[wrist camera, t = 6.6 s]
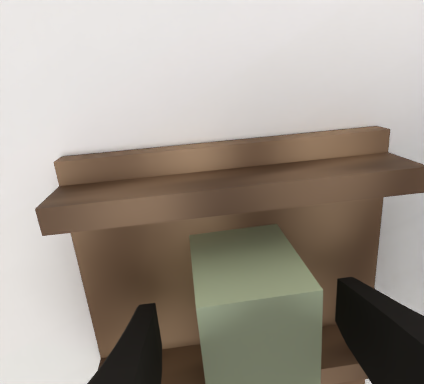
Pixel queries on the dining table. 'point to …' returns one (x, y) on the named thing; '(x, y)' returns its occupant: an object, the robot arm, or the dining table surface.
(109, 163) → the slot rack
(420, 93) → the dining table surface
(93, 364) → the dining table surface
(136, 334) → the robot arm
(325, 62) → the dining table surface
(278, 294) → the sage block
